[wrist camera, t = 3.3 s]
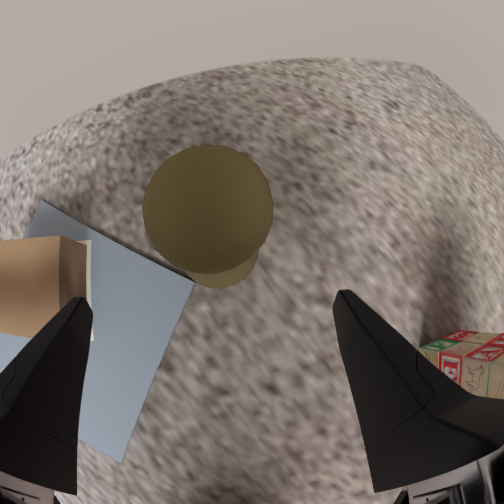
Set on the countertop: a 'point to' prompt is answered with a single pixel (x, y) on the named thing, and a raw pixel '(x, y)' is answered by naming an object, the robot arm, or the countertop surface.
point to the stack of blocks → (470, 361)
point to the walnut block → (38, 281)
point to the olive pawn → (209, 213)
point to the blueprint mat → (114, 329)
